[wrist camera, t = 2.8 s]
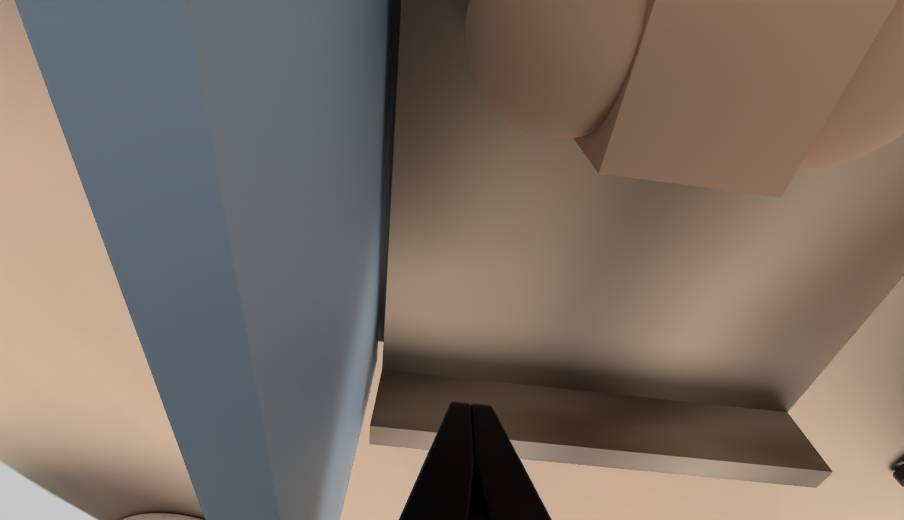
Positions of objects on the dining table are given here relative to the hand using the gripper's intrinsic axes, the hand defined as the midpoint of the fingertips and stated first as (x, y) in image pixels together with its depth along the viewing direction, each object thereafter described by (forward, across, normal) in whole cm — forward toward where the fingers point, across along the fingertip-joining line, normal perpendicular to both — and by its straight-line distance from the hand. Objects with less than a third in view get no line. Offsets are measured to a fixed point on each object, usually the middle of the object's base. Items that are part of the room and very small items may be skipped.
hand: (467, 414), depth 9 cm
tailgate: (+4, +3, -3) cm, 7 cm away
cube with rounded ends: (+4, -3, -7) cm, 8 cm away
